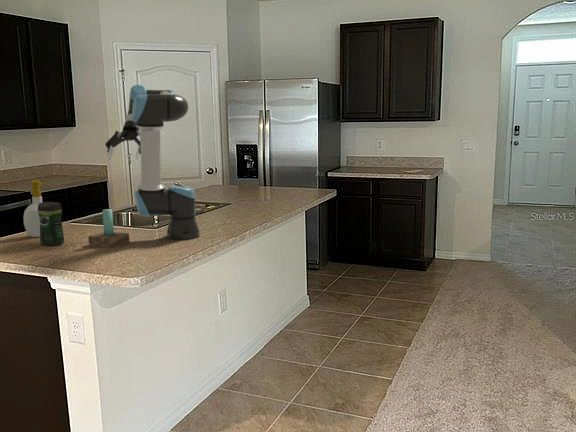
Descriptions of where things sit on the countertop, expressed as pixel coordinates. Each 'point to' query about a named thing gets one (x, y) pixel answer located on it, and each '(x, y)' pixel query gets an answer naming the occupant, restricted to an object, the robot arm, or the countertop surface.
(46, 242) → the coffee jar
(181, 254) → the countertop surface
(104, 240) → the bore block
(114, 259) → the countertop surface
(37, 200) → the soap bottle
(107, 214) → the dowel
